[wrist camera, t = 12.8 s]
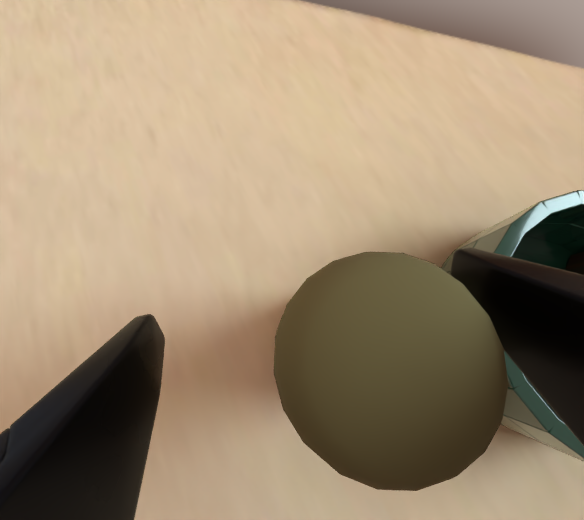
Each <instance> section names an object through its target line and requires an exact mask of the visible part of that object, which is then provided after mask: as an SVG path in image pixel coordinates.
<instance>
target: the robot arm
mask: <svg viewBox="0 0 584 520" xmlns="http://www.w3.org/2000/svg"><path fill="white" fill-rule="evenodd" d="M450 275H451V276H452V277H454V278H455V279H457V280H458V281H459V282H461V283H462V284H463V285H464V286H465V287H466V288H467V290H468V291H469V292H470V293H471V294H472V296H473V297H474V298H475V299H476V301H477V302H478V303H479V304H480V305H481V307H482V308H483V309H484V310H485V311H486V313H487V314H488V315H489V317H490V319H491V321H492V323H493V326H494V328H495V330H496V333H497V335H498V337H499V339H500V342H501V344H502V346H503V348H504V351H505V352H506V353H507V355H508V356H509V357H510V358H511V359H512V361H513V362H514V363H515V364H516V365H517V367H518V368H519V369H520V370H521V371H522V373H523V374H524V375H525V376H526V378H527V379H528V380H529V381H530V382H531V384H532V385H533V386H534V387H535V388H536V390H537V391H538V392H539V393H540V394H541V396H542V397H543V398H544V399H545V400H546V402H547V403H548V404H549V405H550V406H551V408H552V409H553V410H554V411H555V412H556V414H557V415H558V416H559V417H560V418H561V420H562V421H563V422H564V423H565V424H566V426H567V427H568V428H569V429H570V430H571V432H572V433H573V434H574V435H575V436H576V438H577V439H578V440H579V441H580V442H581V444H582V445H583V446H584V275H582V274H578V273H574V272H570V271H566V270H562V269H558V268H554V267H550V266H546V265H541V264H537V263H533V262H529V261H525V260H521V259H517V258H513V257H509V256H505V255H501V254H497V253H492V252H488V251H484V250H480V249H476V248H472V247H467V248H462V249H457V250H456V251H455V252H454V254H453V259H452V265H451V271H450ZM164 346H165V338H164V335H163V333H162V331H161V329H160V327H159V325H158V323H157V321H156V319H155V318H154V316H153V315H151V314H148V315H143V316H138V317H136V318H134V319H133V320H132V321H131V322H130V323H129V324H127V325H126V326H125V327H124V328H123V329H122V330H120V331H119V332H118V333H117V334H116V335H115V336H113V337H112V338H111V339H110V340H109V341H108V342H107V343H105V344H104V345H103V346H102V347H101V348H100V349H98V350H97V351H96V352H95V353H94V354H93V355H92V356H90V357H89V358H88V359H87V360H86V361H85V362H83V363H82V364H81V365H80V366H79V367H78V368H76V369H75V370H74V371H73V372H72V373H71V374H70V375H68V376H67V377H66V378H65V379H64V380H63V381H61V382H60V383H59V384H58V385H57V386H56V387H54V388H53V389H52V390H51V391H50V392H49V393H48V394H46V395H45V396H44V397H43V398H42V399H41V400H39V401H38V402H37V403H36V404H35V405H34V406H33V407H31V408H30V409H29V410H28V411H27V412H26V413H24V414H23V415H22V416H21V417H20V418H19V419H17V420H16V421H15V422H14V423H13V424H12V425H11V426H10V428H8V429H6V430H5V431H3V432H2V433H1V434H0V520H134V517H135V512H136V507H137V502H138V498H139V493H140V488H141V483H142V478H143V473H144V469H145V464H146V459H147V454H148V449H149V445H150V440H151V435H152V430H153V425H154V420H155V416H156V411H157V406H158V401H159V396H160V389H161V380H162V368H163V357H164Z"/></svg>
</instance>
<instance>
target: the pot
mask: <svg viewBox="0 0 584 520" xmlns="http://www.w3.org/2000/svg"><path fill="white" fill-rule="evenodd" d="M467 247H472V248H476V249H480V250H484V251H488V252H492V253H497V254H501V255H505V256H509V257H513V258H517V259H521V260H525V261H529V262H533V263H537V264H541V265H546V266H550V267H554V268H558V269H562V270H566V266H567V264H568V261H569V259H570V256H571V255H573V254H576V253H580V252H584V191H583V190H577V191H573V192H570V193H566V194H563V195H560V196H556V197H553V198H550V199H546V200H543V201H540V202H538V203H536V204H534V205H532V206H530V207H529V208H527V209H525V210H523V211H521V212H519V213H517V214H515V215H513V216H511V217H509V218H507V219H505V220H503V221H502V222H500V223H498V224H496V225H494V226H492V227H490V228H488V229H486V230H484V231H482V232H480V233H478V234H477V235H475V236H474V237H472V238H471V239H469V240H468V241H466V242H465V243H463V244H462V245H460V246H459V247H458V248H457V249H462V248H467ZM457 249H456V250H457ZM456 250H455V251H456ZM455 251H454V252H455ZM454 252H453V253H452V254H451V255H450V256H449V257H448V258H447V260H446V261H445V262H444V264H443V266H442V267H441V269H442V270H444V271H445V272H447V273H448V274H449V275H450V271H451V265H452V259H453V254H454ZM504 355H505V363H506V370H507V378H508V390H507V396H506V402H505V407H504V413H503V419H502V422H501V424H502V425H503V426H505V427H507V428H509V429H512V430H514V431H516V432H518V433H521V434H523V435H525V436H527V437H530V438H532V439H534V440H536V441H539V442H541V443H543V444H545V445H548V446H550V447H552V448H554V449H557V450H559V451H561V452H563V453H566V454H568V455H570V456H572V457H575V458H577V459H579V460H581V461H584V446H583V445H582V444H581V442H580V441H579V440H578V439H577V438H576V436H575V435H574V434H573V433H572V432H571V430H570V429H569V428H568V427H567V426H566V424H565V423H564V422H563V421H562V420H561V418H560V417H559V416H558V415H557V414H556V412H555V411H554V410H553V409H552V408H551V406H550V405H549V404H548V403H547V402H546V400H545V399H544V398H543V397H542V396H541V394H540V393H539V392H538V391H537V390H536V388H535V387H534V386H533V385H532V384H531V382H530V381H529V380H528V379H527V378H526V376H525V375H524V374H523V373H522V371H521V370H520V369H519V368H518V367H517V365H516V364H515V363H514V362H513V361H512V359H511V358H510V357H509V356H508V355H507V353H506V352H505V351H504Z"/></svg>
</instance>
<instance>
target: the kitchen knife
mask: <svg viewBox="0 0 584 520" xmlns="http://www.w3.org/2000/svg"><path fill="white" fill-rule="evenodd" d="M566 271H570V272H574V273H578V274H582V275H584V252H580V253H576V254H573V255H571V256H570V259H569V261H568V264H567V266H566Z"/></svg>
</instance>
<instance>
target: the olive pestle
mask: <svg viewBox="0 0 584 520" xmlns="http://www.w3.org/2000/svg"><path fill="white" fill-rule="evenodd" d="M274 376H275V379H276V383H277V387H278V391H279V395H280V399H281V403H282V407H283V410H284V411H285V413H286V415H287V416H288V418H289V420H290V421H291V423H292V424H293V426H294V428H295V429H296V431H297V433H298V434H299V436H300V438H301V439H302V441H303V442H304V443H305V444H306V445H307V446H308V447H309V448H310V449H312V450H313V451H314V452H315V453H316V454H317V455H319V456H320V457H321V458H322V459H323V460H324V461H326V462H327V463H328V464H329V465H330V466H331V467H332V468H334V469H335V470H336V471H337V472H338V473H339V474H341V475H343V476H346V477H348V478H351V479H353V480H356V481H358V482H361V483H363V484H365V485H368V486H370V487H373V488H375V489H382V490H410V491H417V490H420V489H423V488H426V487H429V486H431V485H434V484H437V483H440V482H443V481H446V480H449V479H451V478H454V477H455V476H457V475H459V474H460V473H461V472H462V471H463V470H464V469H466V468H467V467H468V466H469V465H470V464H471V463H473V462H474V461H475V460H476V459H477V458H478V457H480V456H481V455H482V454H483V453H484V452H485V451H486V449H487V447H488V445H489V444H490V442H491V440H492V438H493V436H494V435H495V433H496V431H497V429H498V427H499V425H500V424H501V422H502V419H503V413H504V407H505V402H506V396H507V390H508V378H507V370H506V363H505V355H504V348H503V346H502V344H501V342H500V339H499V337H498V335H497V333H496V330H495V328H494V326H493V323H492V321H491V319H490V317H489V315H488V314H487V313H486V311H485V310H484V309H483V308H482V307H481V305H480V304H479V303H478V302H477V301H476V299H475V298H474V297H473V296H472V294H471V293H470V292H469V291H468V290H467V288H466V287H465V286H464V285H463V284H462V283H461V282H459V281H458V280H457V279H455V278H454V277H452V276H451V275H449V274H448V273H447V272H445V271H444V270H442V269H441V268H439V267H438V266H437V265H435V264H433V263H430V262H427V261H424V260H422V259H419V258H416V257H413V256H410V255H407V254H404V253H389V252H364V253H360V254H356V255H353V256H349V257H346V258H342V259H339V260H335V261H333V262H331V263H330V264H328V265H327V266H325V267H324V268H322V269H321V270H319V271H318V272H316V273H315V274H313V275H312V276H310V277H309V278H307V279H306V281H305V282H304V283H303V285H302V286H301V287H300V288H299V290H298V291H297V292H296V294H295V295H294V296H293V297H292V299H291V300H290V301H289V303H288V304H287V306H286V309H285V311H284V314H283V315H282V318H281V321H280V324H279V326H278V329H277V332H276V336H275V356H274Z"/></svg>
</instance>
